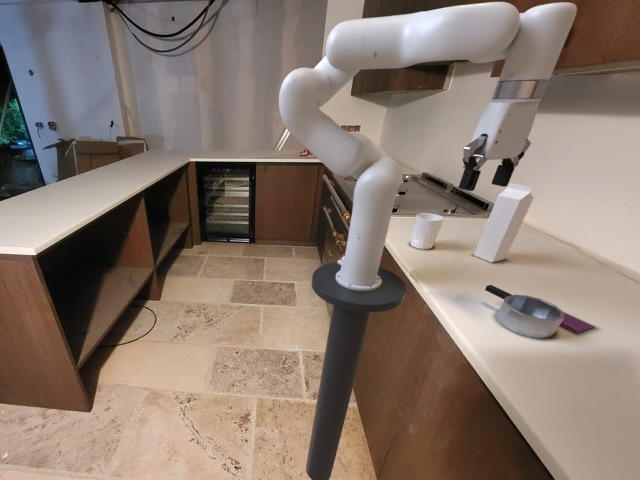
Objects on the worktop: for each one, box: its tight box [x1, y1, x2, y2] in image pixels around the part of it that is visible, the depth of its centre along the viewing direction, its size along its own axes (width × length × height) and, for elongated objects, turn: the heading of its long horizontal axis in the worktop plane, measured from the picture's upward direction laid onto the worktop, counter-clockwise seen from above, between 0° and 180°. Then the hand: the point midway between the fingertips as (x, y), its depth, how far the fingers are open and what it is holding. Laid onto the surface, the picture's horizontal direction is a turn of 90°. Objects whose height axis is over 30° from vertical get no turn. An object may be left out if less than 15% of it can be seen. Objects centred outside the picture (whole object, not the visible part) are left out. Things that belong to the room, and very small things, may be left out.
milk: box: [473, 182, 535, 263], centre depth 95 cm, size 6×6×22 cm
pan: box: [484, 284, 565, 339], centre depth 72 cm, size 15×10×5 cm, turn 20°
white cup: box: [410, 212, 445, 250], centre depth 106 cm, size 8×8×10 cm
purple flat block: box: [559, 312, 595, 334], centre depth 73 cm, size 12×6×1 cm, turn 20°
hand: (482, 187), depth 69 cm, fingers open, 9 cm apart
